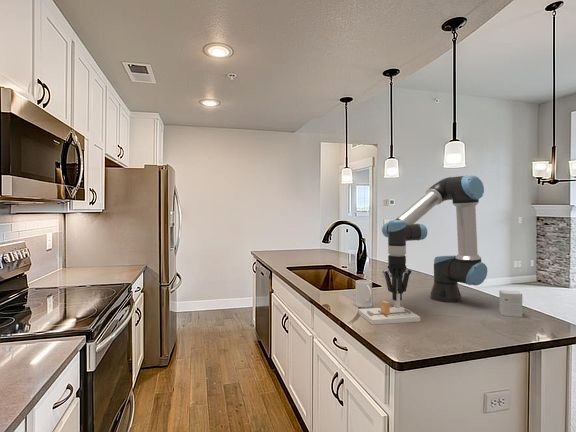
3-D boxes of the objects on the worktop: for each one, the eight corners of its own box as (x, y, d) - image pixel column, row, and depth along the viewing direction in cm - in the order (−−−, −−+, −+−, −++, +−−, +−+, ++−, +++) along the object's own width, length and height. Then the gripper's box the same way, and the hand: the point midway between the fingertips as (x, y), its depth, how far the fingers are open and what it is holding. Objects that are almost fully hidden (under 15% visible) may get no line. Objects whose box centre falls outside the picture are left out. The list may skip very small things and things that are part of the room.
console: (401, 310, 167) (401, 304, 167) (420, 321, 152) (420, 314, 152) (357, 313, 163) (358, 306, 163) (372, 324, 148) (372, 317, 148)
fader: (385, 311, 158) (385, 300, 158) (389, 314, 154) (389, 302, 154) (380, 311, 158) (380, 300, 158) (384, 314, 154) (384, 303, 154)
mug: (377, 308, 171) (377, 284, 170) (361, 309, 169) (361, 285, 169) (368, 302, 182) (368, 279, 182) (352, 303, 181) (352, 280, 180)
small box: (518, 314, 162) (519, 291, 162) (522, 317, 156) (522, 294, 156) (499, 312, 164) (499, 290, 164) (501, 315, 159) (502, 292, 159)
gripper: (406, 253, 161) (406, 304, 162) (379, 254, 159) (379, 306, 160) (414, 255, 154) (415, 308, 155) (387, 256, 152) (387, 310, 152)
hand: (397, 307), depth 157 cm, fingers closed
